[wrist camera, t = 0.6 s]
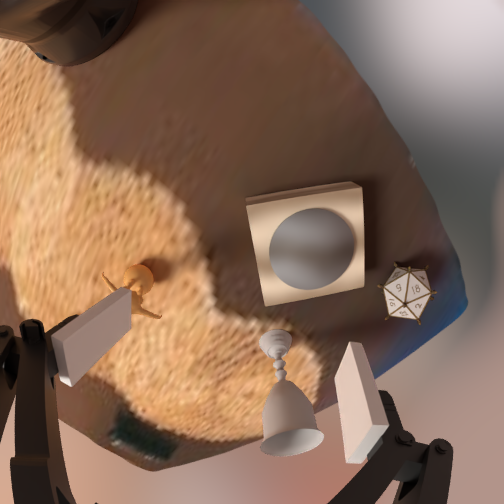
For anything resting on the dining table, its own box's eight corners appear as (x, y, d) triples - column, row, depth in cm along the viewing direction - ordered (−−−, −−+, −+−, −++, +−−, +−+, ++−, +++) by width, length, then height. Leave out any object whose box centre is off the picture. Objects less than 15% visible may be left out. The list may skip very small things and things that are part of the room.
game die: (390, 256, 42) (444, 250, 33) (401, 305, 43) (453, 306, 34) (356, 277, 38) (415, 274, 29) (369, 331, 39) (426, 338, 30)
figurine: (112, 263, 37) (74, 315, 26) (133, 232, 35) (95, 278, 24) (159, 299, 39) (137, 359, 28) (184, 271, 38) (165, 329, 27)
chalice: (282, 316, 41) (304, 421, 25) (307, 341, 44) (334, 439, 27) (242, 341, 43) (247, 445, 27) (269, 364, 45) (282, 460, 29)
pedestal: (245, 197, 34) (246, 207, 30) (350, 181, 34) (363, 188, 30) (262, 291, 39) (265, 308, 36) (354, 273, 39) (365, 288, 35)
